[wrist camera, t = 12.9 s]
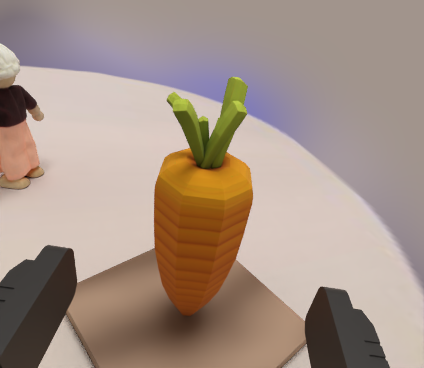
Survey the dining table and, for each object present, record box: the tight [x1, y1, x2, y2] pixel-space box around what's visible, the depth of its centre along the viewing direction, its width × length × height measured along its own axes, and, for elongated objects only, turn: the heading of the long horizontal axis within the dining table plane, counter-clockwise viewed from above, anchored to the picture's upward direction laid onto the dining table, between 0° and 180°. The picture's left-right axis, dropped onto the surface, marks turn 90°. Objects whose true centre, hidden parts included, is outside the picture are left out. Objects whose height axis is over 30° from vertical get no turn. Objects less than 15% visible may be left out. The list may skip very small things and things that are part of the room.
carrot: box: [154, 77, 253, 316], centre depth 17 cm, size 5×5×15 cm
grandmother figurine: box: [0, 44, 44, 189], centre depth 29 cm, size 8×4×13 cm, turn 177°
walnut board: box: [66, 248, 306, 368], centre depth 22 cm, size 12×12×1 cm
